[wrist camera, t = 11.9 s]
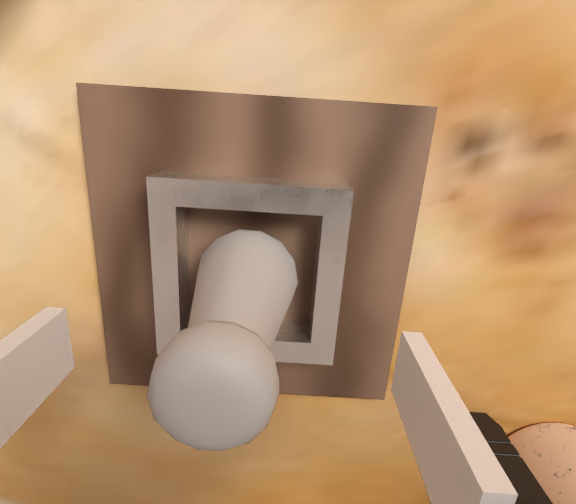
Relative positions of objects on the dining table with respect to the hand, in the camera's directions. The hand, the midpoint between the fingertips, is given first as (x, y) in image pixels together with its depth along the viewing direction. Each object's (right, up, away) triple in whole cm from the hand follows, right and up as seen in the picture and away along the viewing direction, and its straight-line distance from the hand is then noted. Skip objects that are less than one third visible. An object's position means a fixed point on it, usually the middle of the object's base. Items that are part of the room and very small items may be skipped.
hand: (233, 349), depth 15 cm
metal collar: (0, +3, +9) cm, 10 cm away
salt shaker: (0, +3, +9) cm, 10 cm away
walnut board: (0, +3, +10) cm, 11 cm away
